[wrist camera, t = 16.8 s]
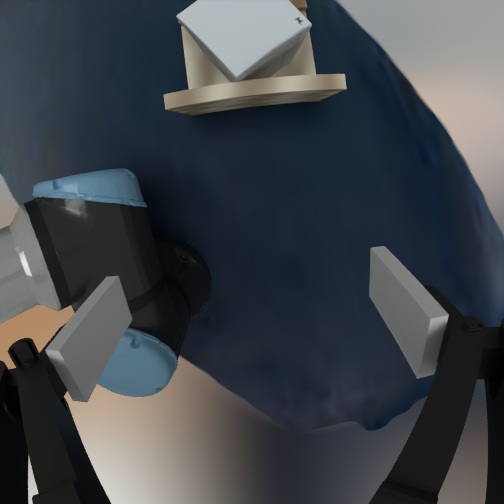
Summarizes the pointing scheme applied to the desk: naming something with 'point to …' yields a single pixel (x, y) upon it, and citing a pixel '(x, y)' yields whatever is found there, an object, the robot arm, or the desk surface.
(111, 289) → the robot arm
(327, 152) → the desk surface
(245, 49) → the supplement box
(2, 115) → the desk surface
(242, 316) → the desk surface
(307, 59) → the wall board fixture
